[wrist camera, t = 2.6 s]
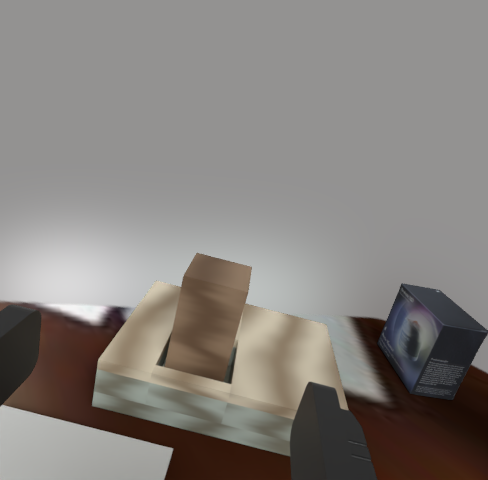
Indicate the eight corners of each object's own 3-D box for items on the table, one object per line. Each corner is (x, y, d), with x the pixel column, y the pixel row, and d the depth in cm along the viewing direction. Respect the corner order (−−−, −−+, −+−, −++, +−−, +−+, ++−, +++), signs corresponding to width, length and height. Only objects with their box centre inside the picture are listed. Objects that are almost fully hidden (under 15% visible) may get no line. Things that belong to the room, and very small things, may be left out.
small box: (373, 342, 55) (399, 280, 52) (412, 349, 56) (440, 289, 53) (407, 394, 45) (442, 322, 42) (454, 401, 46) (492, 331, 43)
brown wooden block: (223, 368, 39) (251, 267, 35) (216, 406, 34) (248, 292, 30) (174, 356, 39) (196, 252, 35) (159, 392, 34) (183, 275, 30)
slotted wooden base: (314, 357, 48) (326, 324, 46) (333, 467, 33) (352, 424, 31) (149, 314, 48) (156, 280, 46) (91, 405, 32) (98, 359, 31)
